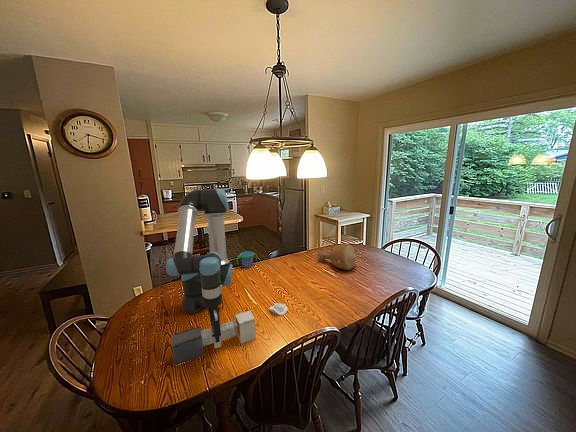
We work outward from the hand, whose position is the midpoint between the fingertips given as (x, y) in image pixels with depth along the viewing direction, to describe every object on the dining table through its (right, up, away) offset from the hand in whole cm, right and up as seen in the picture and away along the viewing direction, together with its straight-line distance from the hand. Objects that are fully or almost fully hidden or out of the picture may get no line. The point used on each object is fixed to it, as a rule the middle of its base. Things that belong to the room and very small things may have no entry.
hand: (216, 342), depth 102 cm
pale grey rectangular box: (-2, +2, -2) cm, 3 cm away
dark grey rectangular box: (-10, -3, -4) cm, 11 cm away
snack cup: (0, +16, +79) cm, 81 cm away
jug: (+69, +17, +78) cm, 105 cm away
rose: (+26, +4, +24) cm, 36 cm away
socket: (+12, 0, +6) cm, 13 cm away
